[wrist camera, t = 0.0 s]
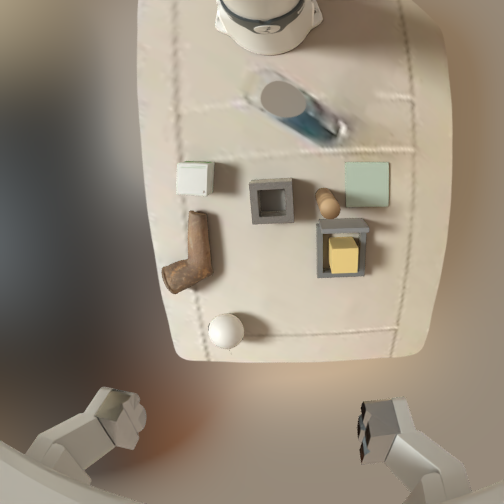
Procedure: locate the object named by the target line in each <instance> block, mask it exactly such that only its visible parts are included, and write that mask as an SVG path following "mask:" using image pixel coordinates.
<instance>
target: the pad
mask: <svg viewBox="0 0 504 504" xmlns="http://www.w3.org/2000/svg"><path fill="white" fill-rule="evenodd" d="M345 181H346V207H382V206H388V200H389V163H388V162H345Z"/></svg>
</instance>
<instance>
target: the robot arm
mask: <svg viewBox="0 0 504 504" xmlns="http://www.w3.org/2000/svg"><path fill="white" fill-rule="evenodd" d="M216 3H217V5H218V9H217V15H216V21H215V27H216V29H217V30H218V31H219V32H221V33H224V34H226V35H229V36H230V37H232V38H233V39H234V40H235V41H236V42H237V43H238V44H239V45H240V46H241V47H243V48H244V49H246V50H248V51H250V52H253V53H256V54H261V55H276V54H281V53H285V52H287V51H290V50H292V49H294V48H295V47H297V46H298V45H299V44H300V43H301V42H302V41H303V40H304V39H305V37H306V36H307V34H308V33H309V31H310V30H311V29H313V28H314V27H316V26H318V25H319V24H320V23H321V22H322V21H323V16H322V13H321V11H320V8H319V6H318V4H317V1H316V0H216ZM314 11H315V12H316V13H315V14H314ZM139 401H140V398H139V396H138V394H135V393H131V392H126V391H121V390H116V389H112V388H106V387H102V388H101V389H100V390H99V391H98V392H97V394H96V396H95V397H94V398H93V400H92V402H91V403H90V404H89V406H88V407H87V409H86V411H85V412H84V413H80V414H78V415H76V416H74V417H72V418H70V419H68V420H66V421H64V422H62V423H61V424H59V425H57V426H55V427H53V428H51V429H49V430H47V431H45V432H43V433H41V434H39V435H38V436H37V438H36V439H35V441H34V442H33V444H32V445H31V447H30V448H29V450H28V451H27V452H26V454H25V455H24V454H22V453H21V452H19V451H17V450H15V449H14V448H11V447H10V446H9V445H7V444H5V443H4V442H2V441H0V504H146V503H142V502H139V501H135V500H132V499H128V498H125V497H122V496H119V495H115V494H113V493H110V492H107V491H104V490H101V489H99V488H96V487H93V486H91V485H89V484H90V482H91V478H90V477H89V476H88V474H87V473H86V472H85V471H84V470H85V469H86V468H88V467H89V466H90V465H92V464H93V463H94V462H96V461H97V460H98V459H100V458H101V457H102V456H103V455H105V454H106V453H108V452H109V451H110V450H112V449H113V448H114V447H115V446H118V447H123V448H127V449H132V450H133V449H134V448H135V445H136V443H137V441H138V439H139V436H138V432H140V431H141V430H143V428H144V426H145V424H146V411H145V409H144V407H143V406H141V405H140V404H139ZM361 413H362V414H361V415H360V416H359V418H358V425H357V433H358V440H359V441H360V442H361V447H360V458H361V465H364V464H373V463H383V462H385V465H386V466H387V467H388V468H389V469H390V470H391V471H392V472H393V474H394V475H395V476H396V477H397V478H398V479H399V480H400V481H401V482H402V483H403V485H404V486H405V487H406V488H407V489H408V490H409V491H410V492H411V493H410V495H409V496H408V497H407V498H406V500H405V501H404V502H403V504H504V480H502V481H500V482H497V483H495V484H493V485H490V486H488V487H485V488H482V489H480V490H477V491H474V492H472V490H471V487H470V483H469V480H468V477H467V473H466V470H465V467H464V464H463V463H462V462H460V461H459V460H458V459H457V458H455V457H454V456H453V455H451V454H450V453H448V452H447V451H446V450H444V449H443V448H442V447H441V446H439V445H438V444H437V443H436V442H434V441H433V440H431V439H430V438H429V437H428V436H426V435H425V434H424V433H423V432H421V431H416V429H415V426H414V422H413V419H412V416H411V413H410V409H409V407H408V403H407V400H406V398H405V397H397V398H391V399H390V398H388V399H380V400H371V401H363V403H362V405H361Z"/></svg>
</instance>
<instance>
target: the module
mask: <svg viewBox="0 0 504 504" xmlns="http://www.w3.org/2000/svg"><path fill="white" fill-rule="evenodd" d="M329 264H330V268H331V272H332V274H335V273H357V269H358V246H357V245H356V243H355V241H354V239H353V237H331V238H329Z"/></svg>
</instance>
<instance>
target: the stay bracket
mask: <svg viewBox="0 0 504 504" xmlns="http://www.w3.org/2000/svg"><path fill="white" fill-rule="evenodd" d="M271 189H285V199H286V210H281V211H261V202H260V190H271ZM249 190H250V201H251V213H252V224H272V223H294V210H293V191H292V178H279V179H262V180H252V181H251V182H250V183H249Z"/></svg>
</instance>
